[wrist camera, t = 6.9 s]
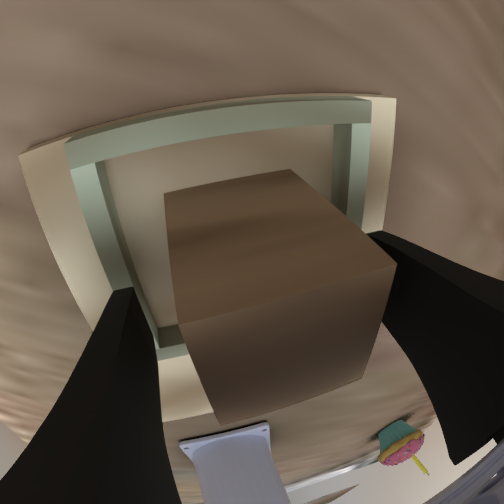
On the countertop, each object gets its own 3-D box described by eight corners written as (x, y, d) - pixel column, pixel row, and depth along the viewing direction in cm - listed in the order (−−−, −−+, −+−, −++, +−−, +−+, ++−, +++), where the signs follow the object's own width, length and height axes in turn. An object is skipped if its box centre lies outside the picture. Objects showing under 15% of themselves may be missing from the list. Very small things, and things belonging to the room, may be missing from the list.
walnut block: (291, 267, 13) (361, 378, 9) (188, 293, 12) (219, 425, 8) (290, 168, 11) (397, 263, 6) (163, 193, 10) (178, 324, 5)
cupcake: (418, 406, 40) (452, 459, 31) (397, 429, 45) (425, 477, 35) (379, 425, 38) (414, 486, 28) (360, 446, 42) (388, 499, 33)
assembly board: (341, 360, 21) (355, 382, 19) (154, 410, 19) (158, 438, 17) (381, 94, 11) (416, 103, 9) (28, 148, 8) (3, 166, 6)
